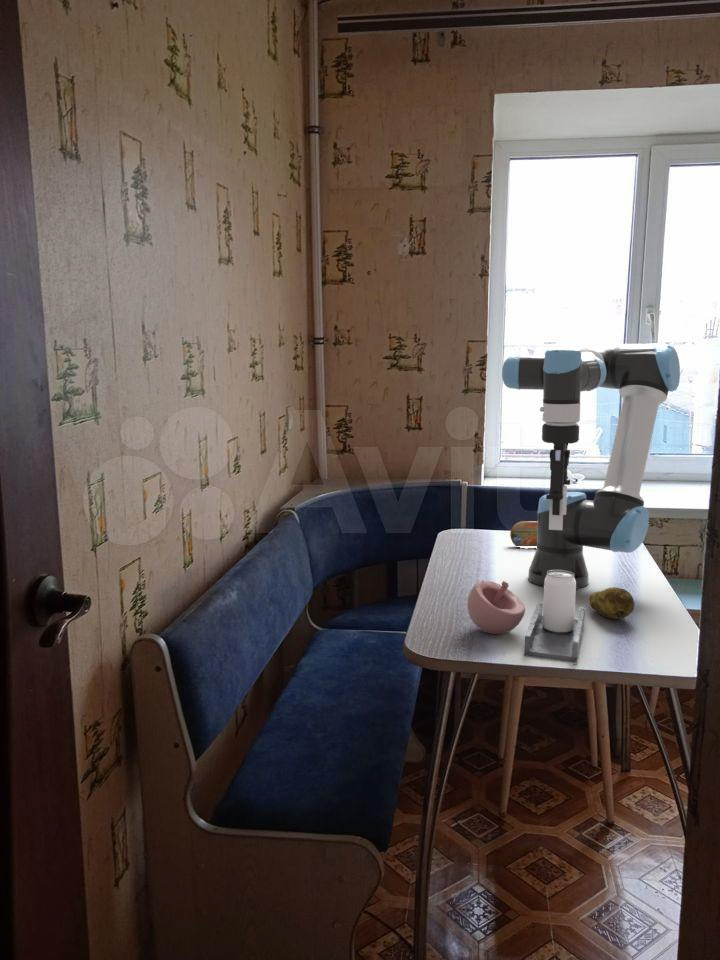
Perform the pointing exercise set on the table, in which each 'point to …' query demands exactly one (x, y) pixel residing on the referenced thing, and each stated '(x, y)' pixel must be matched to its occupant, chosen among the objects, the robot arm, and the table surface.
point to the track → (553, 639)
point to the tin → (524, 533)
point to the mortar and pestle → (494, 607)
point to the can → (559, 601)
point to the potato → (612, 602)
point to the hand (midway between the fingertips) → (557, 521)
